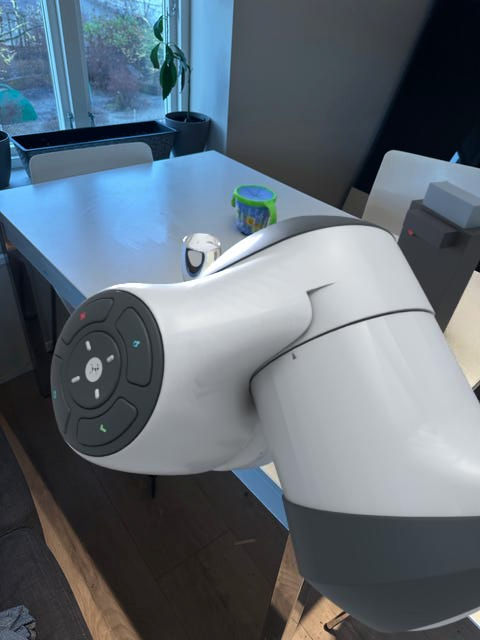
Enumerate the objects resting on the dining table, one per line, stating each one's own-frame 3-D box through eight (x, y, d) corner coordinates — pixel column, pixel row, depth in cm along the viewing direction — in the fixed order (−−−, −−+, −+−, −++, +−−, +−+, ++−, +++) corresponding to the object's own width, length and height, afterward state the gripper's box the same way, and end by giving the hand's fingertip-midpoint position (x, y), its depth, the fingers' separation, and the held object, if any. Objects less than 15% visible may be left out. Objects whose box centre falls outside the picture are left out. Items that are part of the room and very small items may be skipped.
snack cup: (284, 239, 114) (291, 201, 108) (250, 246, 109) (255, 207, 103) (251, 214, 124) (256, 178, 118) (218, 220, 119) (221, 183, 113)
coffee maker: (380, 355, 81) (434, 217, 65) (336, 311, 91) (374, 181, 74) (440, 339, 87) (504, 208, 70) (394, 299, 96) (440, 176, 80)
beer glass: (194, 327, 82) (198, 255, 73) (173, 308, 86) (174, 238, 77) (224, 314, 86) (231, 245, 77) (202, 297, 90) (206, 229, 81)
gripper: (394, 450, 28) (404, 450, 40) (164, 308, 37) (229, 344, 49) (342, 539, 27) (368, 512, 40) (124, 373, 37) (200, 393, 49)
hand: (290, 418), depth 45 cm, fingers open, 8 cm apart
